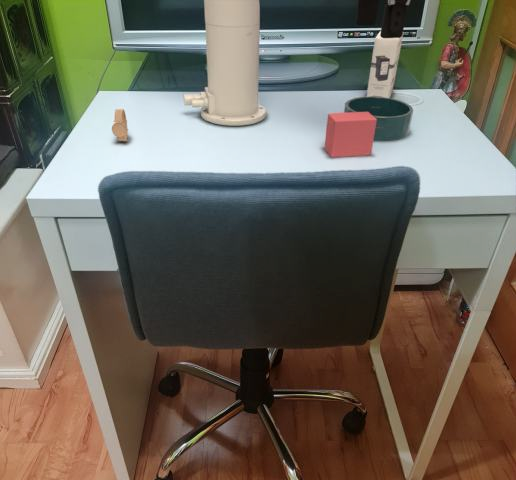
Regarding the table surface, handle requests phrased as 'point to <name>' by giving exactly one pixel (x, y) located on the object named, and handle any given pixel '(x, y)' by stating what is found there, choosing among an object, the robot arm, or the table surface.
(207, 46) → the robot arm
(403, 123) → the bowl
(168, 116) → the table surface
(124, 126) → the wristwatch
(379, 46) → the ink box
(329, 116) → the eraser
